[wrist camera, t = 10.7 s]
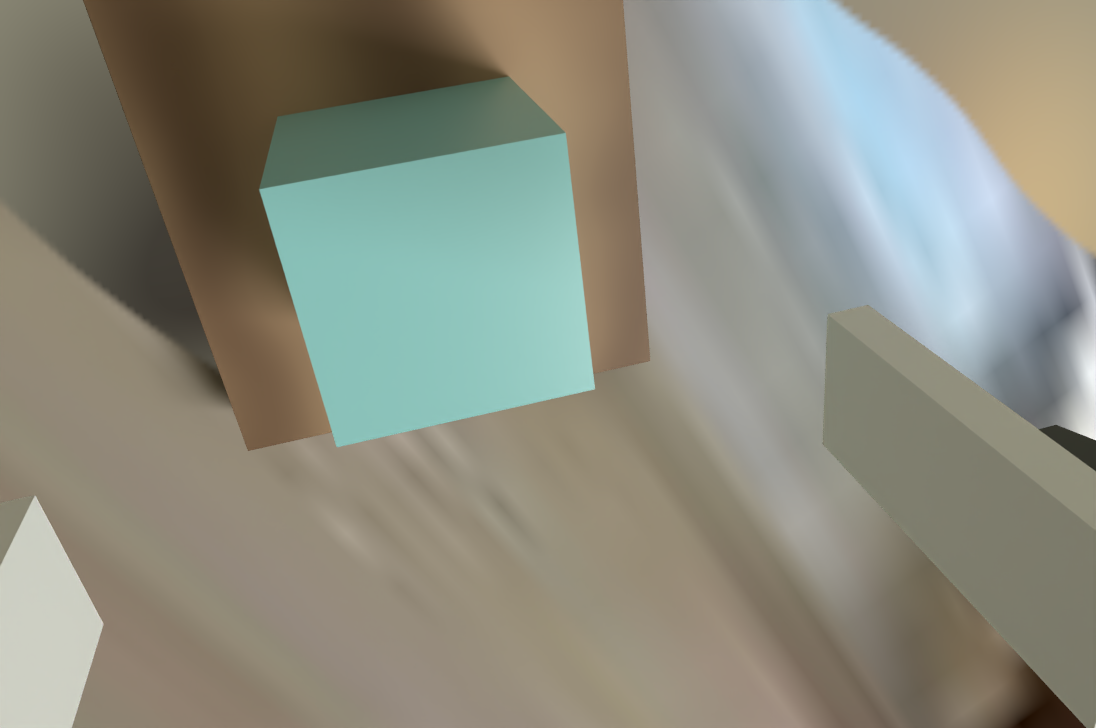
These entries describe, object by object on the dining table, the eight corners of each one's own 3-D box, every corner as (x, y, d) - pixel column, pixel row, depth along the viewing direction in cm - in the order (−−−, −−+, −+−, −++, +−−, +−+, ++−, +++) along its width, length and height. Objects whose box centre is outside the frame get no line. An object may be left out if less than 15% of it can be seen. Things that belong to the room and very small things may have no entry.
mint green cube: (335, 326, 27) (336, 447, 21) (277, 116, 24) (259, 189, 18) (538, 284, 28) (594, 389, 22) (509, 76, 25) (565, 132, 19)
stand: (254, 412, 31) (233, 548, 24) (105, -10, 24) (20, 24, 17) (628, 330, 32) (702, 436, 26) (592, -84, 26) (680, -79, 19)
